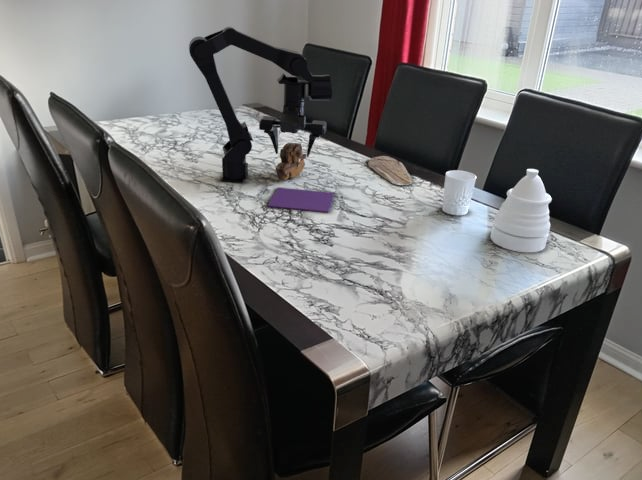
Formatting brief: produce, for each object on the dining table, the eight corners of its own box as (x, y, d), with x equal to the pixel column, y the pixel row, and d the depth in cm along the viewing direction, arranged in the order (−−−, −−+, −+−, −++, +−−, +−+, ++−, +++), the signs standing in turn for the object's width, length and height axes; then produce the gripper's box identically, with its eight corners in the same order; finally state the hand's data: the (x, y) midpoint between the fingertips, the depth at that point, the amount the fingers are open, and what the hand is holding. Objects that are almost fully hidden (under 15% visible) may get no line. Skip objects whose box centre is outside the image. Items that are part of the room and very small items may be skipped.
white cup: (471, 208, 157) (477, 172, 152) (467, 218, 150) (474, 181, 145) (442, 203, 159) (447, 168, 154) (437, 213, 152) (443, 177, 147)
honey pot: (538, 257, 131) (557, 181, 123) (483, 242, 137) (498, 169, 128) (550, 238, 141) (570, 167, 132) (499, 225, 147) (514, 156, 138)
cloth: (267, 206, 150) (267, 205, 150) (278, 189, 162) (278, 187, 162) (328, 212, 149) (328, 211, 149) (334, 194, 161) (334, 192, 161)
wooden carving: (289, 186, 164) (290, 152, 159) (274, 184, 166) (274, 150, 161) (308, 170, 178) (309, 138, 173) (294, 168, 179) (295, 136, 174)
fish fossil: (424, 184, 172) (424, 180, 172) (393, 188, 170) (393, 185, 169) (389, 157, 193) (389, 153, 192) (360, 160, 190) (361, 157, 190)
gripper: (254, 103, 155) (254, 160, 162) (323, 109, 153) (320, 166, 161) (263, 95, 164) (263, 149, 172) (328, 100, 163) (325, 155, 170)
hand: (292, 155), depth 168 cm, fingers open, 9 cm apart
